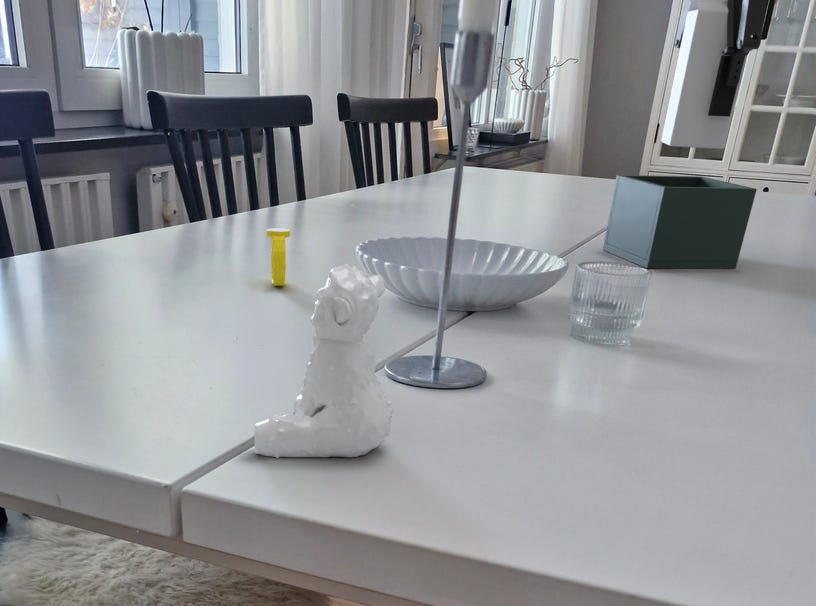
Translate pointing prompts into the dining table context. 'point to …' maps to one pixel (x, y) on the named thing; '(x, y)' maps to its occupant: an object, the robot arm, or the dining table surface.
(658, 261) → the box
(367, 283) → the white creature statuette
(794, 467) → the dining table surface
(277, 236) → the yellow capped post
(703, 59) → the milk carton
